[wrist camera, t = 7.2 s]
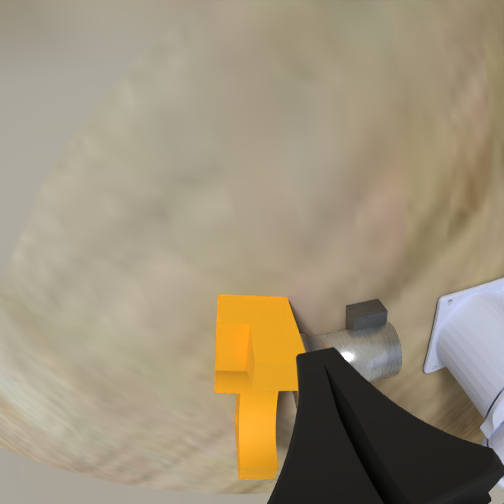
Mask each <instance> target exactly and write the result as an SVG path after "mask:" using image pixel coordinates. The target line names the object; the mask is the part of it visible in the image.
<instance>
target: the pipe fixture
mask: <svg viewBox="0 0 504 504" xmlns="http://www.w3.org/2000/svg"><path fill="white" fill-rule="evenodd" d="M387 312H388V311H387V310H386V308H385V307H384V306H383V304H382V303H381V302H380V301H379V299H375V300H371V301H366V302H362V303H357V304H352V305H347V306H346V330H342V331H338V332H333V333H328V334H323V335H318V336H313V337H308V338H307V337H306V335H305V334H304V333H299V334H300V337H301V339H302V342H303V345H304V348H305V351H306V352H311V351H316V350H321V349H326V348H331V347H334V348H336V349H337V350H338V351H339V352H340V354H341V355H342V356H343V357H344V358H345V359H346V360H347V361H348V362H349V363H350V364H351V365H352V366H353V367H354V368H355V369H356V370H357V371H358V372H359V373H360V374H361V375H362V376H363V377H364V378H365V379H366V380H367V381H369V382H374V381H377V380H381V379H384V378H388V377H391V376H395V375H397V374H398V373H399V371H400V369H401V364H402V352H401V345H400V341H399V338H398V335H397V333H396V330H395V329H394V327H393V325H392V324H391V323H390V322H388V321H387ZM293 394H294V399H295V403H296V408H297V407H298V399H299V392H298V391H293Z"/></svg>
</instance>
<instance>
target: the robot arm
mask: <svg viewBox="0 0 504 504" xmlns="http://www.w3.org/2000/svg"><path fill="white" fill-rule="evenodd" d="M296 365H297V379H298V392H299V399H298V407H297V414H296V420H295V425H294V430H293V434H292V438H291V442H290V446H289V449H288V453H287V456H286V459H285V462H284V465H283V468H282V470H281V473H280V476H279V478H278V480H277V483H276V485H275V487H274V490H273V492H272V494H271V496H270V499H269V501H268V503H267V504H488V503H490V502H491V497H490V495H489V493H488V492H489V491H490V490H491V489H492V488H493V487H494V486H495V485H496V486H498V487H499V488H500V489H502V490H504V278H501V279H498V280H495V281H492V282H489V283H486V284H482V285H479V286H476V287H473V288H469V289H466V290H463V291H459V292H456V293H452V294H449V295H445V296H443V297H441V298H440V299H439V301H438V305H437V310H436V315H435V321H434V326H433V330H432V335H431V340H430V344H429V348H428V353H427V357H426V361H425V365H424V368H423V370H424V372H425V373H430V372H433V371H436V370H439V369H441V368H444V367H447V368H448V370H449V371H450V372H451V374H452V375H453V376H454V378H455V379H456V380H457V382H458V383H459V384H460V386H461V387H462V389H463V390H464V391H465V393H466V394H467V395H468V397H469V398H470V400H471V401H472V402H473V404H474V405H475V407H476V408H477V409H478V411H479V412H480V414H481V415H482V417H483V418H484V419H485V421H484V423H483V424H482V425H481V426H480V429H481V431H482V432H483V434H484V435H485V437H484V438H483V439H482V441H481V445H479V444H476V443H472V442H469V441H466V440H463V439H460V438H458V437H455V436H453V435H450V434H448V433H446V432H444V431H441V430H439V429H437V428H435V427H433V426H431V425H429V424H427V423H425V422H424V421H422V420H420V419H418V418H417V417H415V416H413V415H412V414H410V413H409V412H407V411H406V410H404V409H402V408H401V407H400V406H398V405H397V404H395V403H394V402H393V401H391V400H390V399H389V398H388V397H386V396H385V395H384V394H382V393H381V392H380V391H379V390H378V389H376V388H375V387H374V386H373V385H372V384H371V383H370V382H369V381H367V380H366V379H365V378H364V377H363V376H362V375H361V374H360V373H359V372H358V371H357V370H356V369H355V368H354V367H353V366H352V365H351V364H350V363H349V362H348V361H347V360H346V359H345V358H344V357H343V356H342V355H341V354H340V352H339V351H338V350H337V349H336V348H334V347H331V348H326V349H321V350H316V351H311V352H306V353H301V354H298V355H297V356H296ZM503 504H504V503H503Z"/></svg>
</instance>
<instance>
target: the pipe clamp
mask: <svg viewBox="0 0 504 504" xmlns="http://www.w3.org/2000/svg"><path fill="white" fill-rule="evenodd" d="M301 353H306V351H305V348H304V345H303V342H302V339H301V337H300V334H299V331H298V328H297V325H296V322H295V319H294V316H293V313H292V310H291V307H290V304H289V301H288V298H287V297H269V296H243V295H222V294H218V304H217V326H216V351H215V393H237V397H236V407H235V434H236V450H237V466H238V480H244V479H273V478H275V475H276V472H277V469H278V461H277V452H276V407H277V398H278V392H279V391H298V379H297V365H296V356H297V355H298V354H301Z"/></svg>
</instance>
